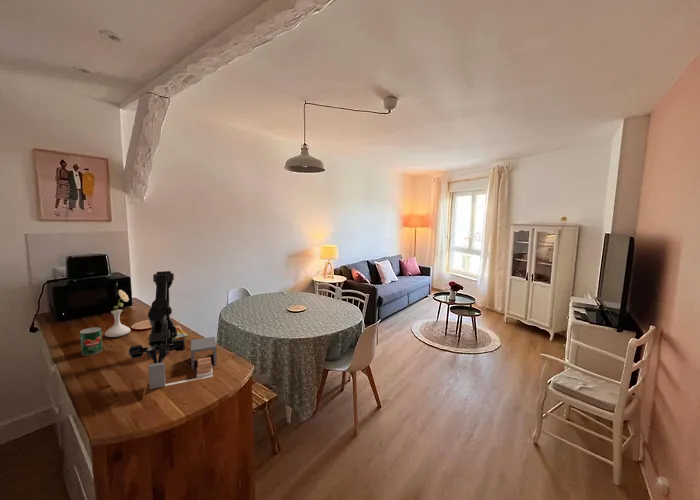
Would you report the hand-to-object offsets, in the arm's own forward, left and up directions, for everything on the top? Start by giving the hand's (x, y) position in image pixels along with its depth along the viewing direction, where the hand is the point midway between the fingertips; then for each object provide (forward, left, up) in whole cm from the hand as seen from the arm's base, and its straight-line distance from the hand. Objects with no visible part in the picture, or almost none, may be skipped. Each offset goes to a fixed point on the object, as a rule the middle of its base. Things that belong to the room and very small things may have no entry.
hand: (157, 369), depth 116 cm
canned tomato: (-58, -8, -8) cm, 59 cm away
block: (+4, +16, -6) cm, 18 cm away
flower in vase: (-74, +7, -8) cm, 75 cm away
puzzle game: (-46, +23, -8) cm, 52 cm away
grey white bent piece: (+2, +9, -7) cm, 11 cm away
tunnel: (-6, +21, -8) cm, 23 cm away
